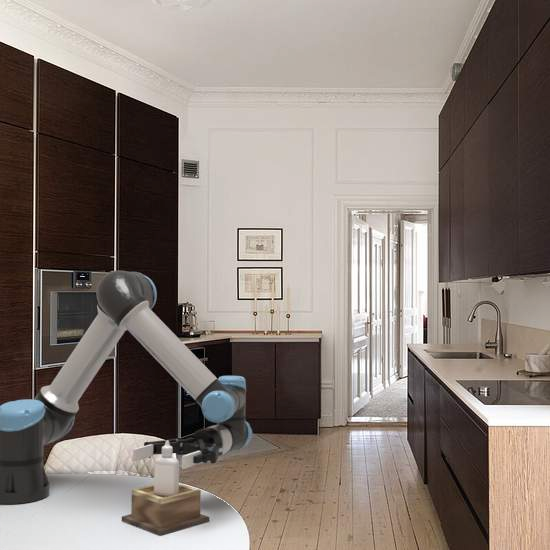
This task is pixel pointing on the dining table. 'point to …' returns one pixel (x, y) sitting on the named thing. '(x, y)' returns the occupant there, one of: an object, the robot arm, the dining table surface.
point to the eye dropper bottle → (166, 473)
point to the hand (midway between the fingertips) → (157, 458)
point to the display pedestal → (165, 510)
